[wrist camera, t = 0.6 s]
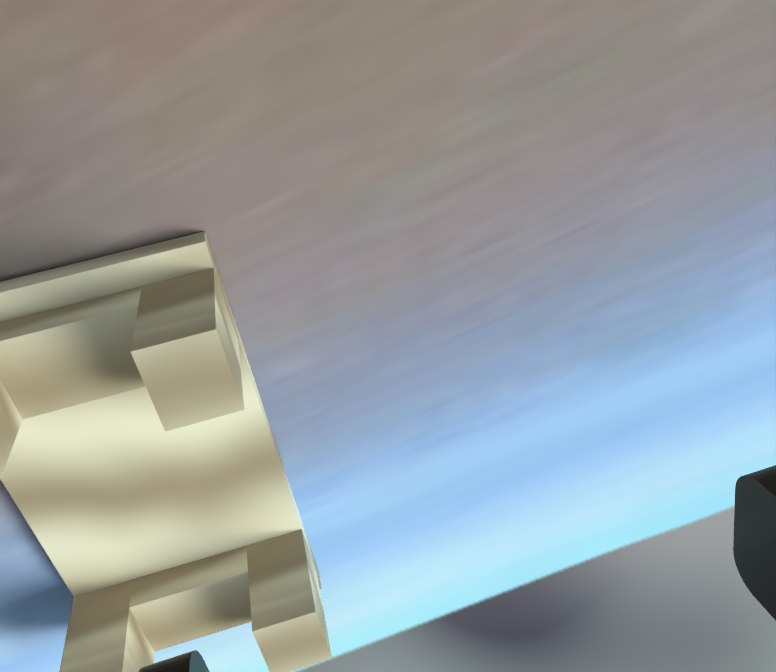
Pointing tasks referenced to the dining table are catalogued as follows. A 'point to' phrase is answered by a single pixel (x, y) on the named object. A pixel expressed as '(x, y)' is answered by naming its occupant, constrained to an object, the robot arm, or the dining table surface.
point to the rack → (151, 461)
